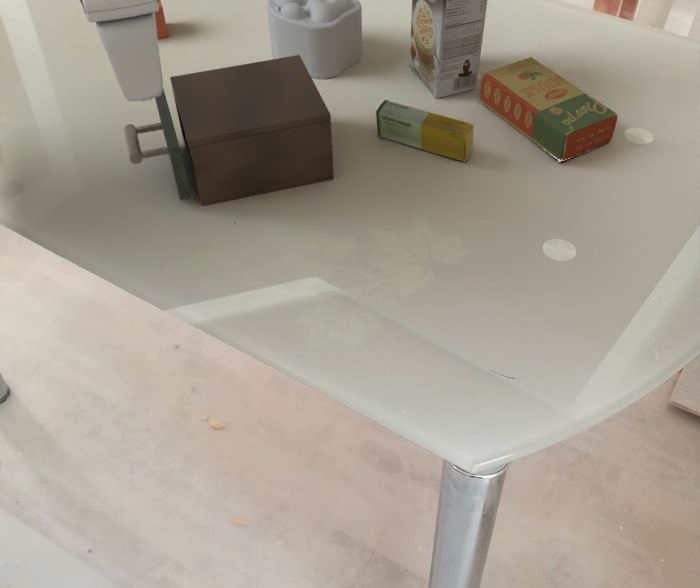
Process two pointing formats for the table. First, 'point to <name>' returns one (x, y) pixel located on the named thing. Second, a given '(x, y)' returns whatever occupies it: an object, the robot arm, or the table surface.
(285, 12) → the lumpy-topped squat cylinder
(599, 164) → the table surface
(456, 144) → the medication box
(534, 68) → the carton
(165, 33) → the block
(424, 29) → the coffee box
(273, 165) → the cabinet
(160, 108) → the drawer
